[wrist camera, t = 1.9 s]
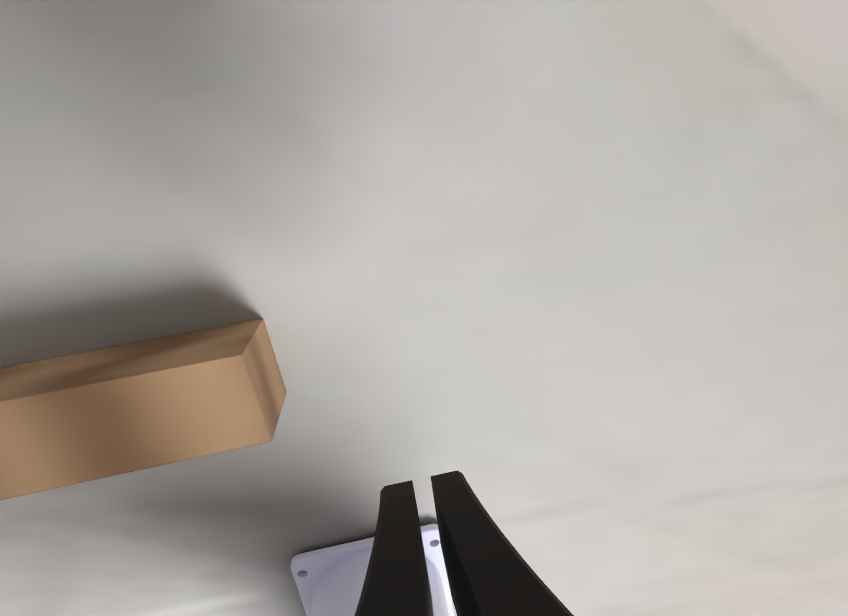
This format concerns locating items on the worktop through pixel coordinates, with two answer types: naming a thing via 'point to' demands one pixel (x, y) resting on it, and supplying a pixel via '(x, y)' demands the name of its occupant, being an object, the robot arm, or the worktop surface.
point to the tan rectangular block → (136, 406)
